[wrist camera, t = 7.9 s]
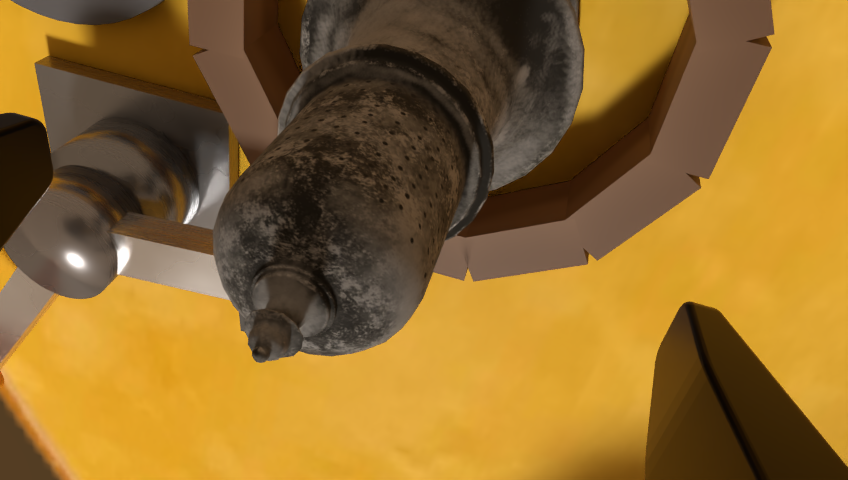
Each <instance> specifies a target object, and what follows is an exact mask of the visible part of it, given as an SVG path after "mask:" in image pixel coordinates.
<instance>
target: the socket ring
mask: <svg viewBox="0 0 848 480" xmlns="http://www.w3.org/2000/svg"><path fill="white" fill-rule="evenodd" d="M687 1H688V7H689V16H688V18H687V21H686V23H685V26H684V28H683V31H682V34H681V36H680V39H679V41H678V44H677V46H676V49H675V51H674V54H673V56H672V59H671V61H670V64H669V67H668V69H667V72H666V74H665V77H664V79H663V82H662V84H661V87H660V89H659V92H658V94H657V97H656V100H655V102H654V105H653V107H652V110H651V112H650V115H649V117H648V118H647V119H646V120H645V121H643V122H642V123H641V124H640V125H638V126H637V127H636V128H635V129H634V130H632V131H631V132H630V133H629V134H627V135H626V136H625V137H624V138H622V139H621V140H620V141H619V142H618V143H616V144H615V145H614V146H613V147H611V148H610V149H609V150H608V151H606V152H605V153H604V154H603V155H602V156H600V157H599V158H598V159H597V160H595V161H594V162H593V163H592V164H590V165H589V166H588V167H587V168H586V169H584V170H583V171H582V172H581V173H579V174H578V175H577V176H576V177H574V178H573V179H572V180H571V181H567V182H562V183H557V184H551V185H546V186H541V187H536V188H531V189H526V190H521V191H516V192H511V193H506V194H501V195H496V196H491V197H487V200H486V201H485V203H484V204H483V206H482V208H481V209H480V211H479V212H478V214H477V215H476V217H475V219H474V220H473V221H472V222H471V223H470V224H469V225H468V226H467V227H465V228H464V229H463V230H462V231H461V232H460V233H458V234H457V235H456V236H455V237H453V238H451V239H449V240H447V241H445V242H444V244H443V247H442V250H441V252H440V255H439V258H438V260H437V263H436V265H435V268H434V271H433V272H435V273H438V274H442V275H445V276H449V277H453V278H456V279H460V280H463V281H464V279H465V276H466V273H467V269H468V268H469V271H470V274H471V276H472V279H473V281H480V280H486V279H493V278H500V277H506V276H513V275H520V274H526V273H533V272H540V271H546V270H553V269H560V268H566V267H573V266H580V265H586V264H588V256H589V254H591V255H592V256H593V257H594V258H595V259H596V260H597V261H598V260H599V259H600V258H602V257H603V256H605V255H606V254H607V253H609V252H610V251H612V250H613V249H615V248H616V247H617V246H619V245H620V244H622V243H623V242H625V241H626V240H627V239H629V238H630V237H632V236H633V235H635V234H636V233H637V232H639V231H640V230H642V229H643V228H645V227H646V226H647V225H649V224H650V223H652V222H653V221H654V220H656V219H657V218H659V217H660V216H662V215H663V214H664V213H666V212H667V211H669V210H670V209H672V208H673V207H674V206H676V205H677V204H679V203H680V202H682V201H683V200H684V199H686V198H687V197H689V196H690V195H692V194H693V193H694V192H696V191H697V190H699V189H700V188H701V185H700V179H699V177H702V178H706V179H709V177H710V175H711V173H712V171H713V169H714V167H715V165H716V163H717V161H718V158H719V156H720V154H721V152H722V150H723V148H724V146H725V144H726V142H727V140H728V138H729V136H730V134H731V131H732V129H733V127H734V125H735V123H736V121H737V119H738V117H739V115H740V113H741V111H742V109H743V106H744V104H745V102H746V100H747V98H748V96H749V94H750V92H751V90H752V88H753V86H754V84H755V81H756V79H757V77H758V75H759V73H760V71H761V69H762V67H763V65H764V63H765V61H766V59H767V56H768V54H769V52H770V50H771V48H772V47H771V45H770V43H769V41H768V39H767V37H766V36H769V35H773V34H774V27H773V18H772V9H771V0H687ZM188 21H189V43H190V45H191V46H195V47H199V48H203V49H202V50H200V51H199V52H197V53H196V54H195V55H193V57H194V59H195V61H196V63H197V65H198V67H199V69H200V71H201V72H202V74H203V76H204V78H205V80H206V82H207V84H208V86H209V88H210V89H211V91H212V93H213V95H214V97H215V99H216V101H217V103H218V105H219V106H220V108H221V110H222V112H223V114H224V116H225V118H226V120H227V122H228V123H229V125H230V127H231V129H232V131H233V133H234V135H235V137H236V139H237V140H238V142H239V144H240V146H241V148H242V150H243V152H244V154H245V156H246V157H247V159H248V161H249V163H250V165H251V164H252V163H253V162H254V161H255V160H256V159H257V158H258V157H259V156H260V154H261V153H262V152H263V151H264V150H265V149H266V148H267V147H268V146H269V145H270V144H271V143H272V142H273V140H274V139H275V138H276V137H277V134H278V116H279V113H280V110H281V107H282V104H283V102H284V99H285V96H286V93H287V91H288V90H289V88H290V87H291V86H292V84H293V83H294V82H295V80H296V79H297V78H298V76H299V75H300V72H299V70H298V68H297V66H296V63H295V61H294V59H293V57H292V55H291V53H290V50H289V48H288V46H287V44H286V42H285V39H284V37H283V35H282V33H281V31H280V29H279V26H278V24H277V22H278V0H188Z"/></svg>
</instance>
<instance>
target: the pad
mask: <svg viewBox="0 0 848 480" xmlns="http://www.w3.org/2000/svg"><path fill="white" fill-rule="evenodd" d="M11 1H13V2H15V3H16V4H18V5H20V6H22V7H24V8H26V9H29V10H31V11H33V12H35V13H37V14H40V15H43V16H46V17H49V18H52V19H55V20H59V21H64V22H69V23H75V24H88V25H100V24H109V23H116V22H119V21H123V20H126V19H130V18H132V17H135V16H137V15H139V14H141V13H143V12H145V11H147V10H149V9H151V8H153V7H155V6H156V5H158V4H160V3H161V2H163V1H164V0H11Z"/></svg>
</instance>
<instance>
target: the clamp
mask: <svg viewBox="0 0 848 480" xmlns="http://www.w3.org/2000/svg"><path fill="white" fill-rule="evenodd" d="M4 249H5V251H6V252H7V254H8V255H9V257H10V258H11V259H12V261H13V262H14V263H15V264H16V266H17V269H16V270H15V272H14V273H13V275H12V276H11V278H10V279H9V281H8V282H7V283H6V285H5V286H4V288H3V289H2V291H1V292H0V370H1V368H2V367H3V366H4V365H5V363H6V362H7V361H8V360H9V358H10V357H11V356H12V354H13V353H14V352H15V351H16V349H17V348H18V347H19V345H20V344H21V343H22V342H23V340H24V339H25V338H26V336H27V335H28V334H29V333H30V331H31V330H32V329H33V328H34V326H35V325H36V324H37V322H38V321H39V320H40V319H41V317H42V316H43V315H44V313H45V312H46V311H47V310H48V308H49V307H50V306H51V305H52V303H53V302H54V301H55V299H56V298H57V297H58V296H59V295H61V296H65V297H69V298H75V299H86V298H91V297H94V296H96V295H98V294H100V293H101V292H102V291H103V290H104V289H105V288H106V287H107V286H108V285H109V284H110V283H111V282H112V281H113V280H114V279H115V278H116V277H117V276H118V275H123V276H128V277H132V278H136V279H141V280H145V281H149V282H154V283H158V284H162V285H167V286H171V287H175V288H180V289H184V290H188V291H193V292H197V293H201V294H206V295H210V296H214V297H219V298H223V299H227V300H230V299H229V297H228V295H227V294H226V292H225V290H224V289H223V286H222V283H221V280H220V276H219V273H218V270H217V266H216V262H215V258H214V254H213V230H212V229H207V228H203V227H198V226H193V225H189V224H184V223H179V222H175V221H170V220H165V219H161V218H156V217H152V216H147V215H143V213H142V211H141V209H140V207H139V206H138V204H137V203H136V201H135V200H134V199H133V197H132V196H131V195H130V194H129V193H128V192H127V191H126V190H125V189H124V188H123V187H122V186H121V185H120V184H119V183H117V182H116V181H115V180H113V179H112V178H110V177H109V176H107V175H106V174H104V173H102V172H100V171H98V170H95V169H92V168H89V167H86V166H80V165H66V166H62V167H59V168H57V169H55V170H54V174H53V180H52V183H51V185H50V187H49V189H48V190H47V191H46V193H45V194H44V195H43V196H42V198H41V199H40V200H39V202H38V203H37V204H36V205H35V207H34V208H33V209H32V211H31V212H30V213H29V215H28V216H27V217H26V218H25V220H24V221H23V222H22V224H21V225H20V226H19V227H18V229H17V230H16V231H15V233H14V234H13V235H12V237H11V238H10V239H9V240H8V242H7V243H6V244H5V246H4ZM239 316H240V326H241V331H244V329H245V318H244V317H243V316H242V315H241V314H240V312H239ZM244 332H245V331H244ZM3 384H4V378H3V375H2V373H1V371H0V388H1V387H2V386H3Z"/></svg>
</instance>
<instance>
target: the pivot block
mask: <svg viewBox="0 0 848 480" xmlns="http://www.w3.org/2000/svg"><path fill="white" fill-rule="evenodd" d="M35 68H36V74H37V79H38V84H39V90H40V95H41V100H42V106H43V111H44V116H45V122H46V127H47V132H48V138H49V143H50V148H51V158H52V164H53V170H55V169H57V168H59V167H62V166H66V165H80V166H86V167H89V168H92V169H95V170H98V171H100V172H102V173H104V174H106V175H107V176H109V177H110V178H112V179H113V180H115V181H116V182H117V183H119V184H120V185H121V186H122V187H123V188H124V189H125V190H126V191H127V192H128V193H129V194H130V195H131V196H132V197H133V199H134V200H135V201H136V203H137V204H138V206H139V207H140V209H141V211H142V213H143V215H147V216H152V217H156V218H161V219H165V220H170V221H175V222H179V223H184V224H189V225H193V226H198V227H203V228H207V229H212V230H213V228H214V225H215V222H216V219H217V216H218V212H219V209H220V207H221V205H222V203H223V200H224V198H225V196H226V194H227V193H228V191H229V190H230V189H231V187H232V186H233V185H234V184H235V182H236V181H237V180H238V140H237V139H236V137H235V135H234V133H233V131H232V129H231V127H230V125H229V123H228V122H227V120H226V118H225V116H224V114H223V112H222V110H221V108H220V106H219V105H218V103H217V101H216V100H212V99H209V98H205V97H201V96H197V95H194V94H190V93H186V92H182V91H179V90H175V89H171V88H167V87H164V86H160V85H156V84H152V83H148V82H145V81H141V80H137V79H133V78H130V77H126V76H122V75H118V74H115V73H111V72H107V71H103V70H100V69H96V68H92V67H88V66H84V65H81V64H77V63H73V62H69V61H66V60H62V59H58V58H54V57H51V56H47V57H45V58H43V59H41V60H40V61H38V62H36V63H35Z"/></svg>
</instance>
